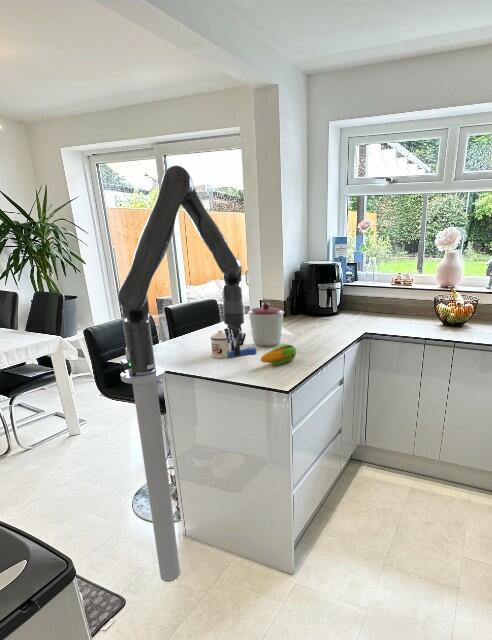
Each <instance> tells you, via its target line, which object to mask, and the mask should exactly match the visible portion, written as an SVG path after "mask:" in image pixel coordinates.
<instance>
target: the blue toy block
mask: <svg viewBox="0 0 492 640" xmlns="http://www.w3.org/2000/svg"><path fill="white" fill-rule="evenodd" d="M255 355H257V347H256V346H248V347H246V348H240V356H235V354H234V351H229V352H227V357H226V358H227V359H235V358H241V357H247V356H255Z"/></svg>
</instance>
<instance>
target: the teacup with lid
mask: <svg viewBox="0 0 492 640" xmlns="http://www.w3.org/2000/svg"><path fill="white" fill-rule="evenodd" d="M210 344H211V356H212V357H213V358H217V359H224V358H227V352H229V351H231V345H230V343H228V341H227V337H226V334H225V331H223V330H222V329H219V330H218V331H217V332H215V333H214V334H212V335H210Z"/></svg>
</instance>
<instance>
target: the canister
mask: <svg viewBox="0 0 492 640" xmlns="http://www.w3.org/2000/svg"><path fill="white" fill-rule="evenodd" d="M247 314H248V315H249V316H248V317H249V323H250V329H251V330H250V331H251V335H252V341H253V343H254V344H255V345H256V346H259V347H275V346H278V345H279V344H280V342H281V337H282V330H283V319H284V314H285V311H284V310H282V309H281V308H279V307H273V306H271V305H270V303H269V302H267V301H266V302H265V301H264V302H263V303H262V307H261V306H260V307H254V308H252V309H250V310H249V311H247Z"/></svg>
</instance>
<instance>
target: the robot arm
mask: <svg viewBox="0 0 492 640" xmlns="http://www.w3.org/2000/svg"><path fill="white" fill-rule="evenodd" d="M180 207H182V208H183V209H184V211H185V212H186V214H187V215H188V217H189V218H190V220H191V221H192V224H193V226H194V227H195V229H196V231H197V233H198V235H199V237H201V239H202V241H203V243H204V244H205V246H206V248H207V249H208V250H209V251H210V253H211V254H212V258H214V261H215V263H216V265H217V266H218V268H219V270H220V271H221V272H222V277H223V285H222V301H223V302H222V310H223V323H224V325H226V326H227V328H224V331H223V332H224V333H225V334H226V337H227V341H228V343H230V345H231V351H234V354H235V356H240V349H241V347H242V346H244V343H245V340H246V336H247V335H246V333H245V332H243V328H242V324H245V312H244V303H243V302H244V301H243V290H242V262H241V260H240V259H239V258H238V257H237V256H235V254H234V253H233V252H232V250H231V248H230V247H229V244H228V241H227V240H226V238H225V236H224V234H223V233H222V230H220V228H219V226H218V224H216V222H215V220H214V219H213V217H211V215H210V214H209V212H208V211H207V209H206V208H205V206H204V205H203V203H202V201H201V199H200V197H199V195H198V193H197V190H196V188H195V185H194V182H193V179H192V177H191V175H190V173H189V172H188V171H187V169H186V168H184V167H183V166H180V165H172V166H170V167H168V168H167V169H166V170H165V171H164V173H163V176H162V179H161V183H160V187H159V190H158V194H157V198H156V200H155V204H154V205H153V207H152V210H151V212H150V214H149V216H148V218H147V221H146V222H145V225H144V228H143V230H142V232H141V234H140V237H139V240H138V243H137V246H136V249H135V252H134V255H133V260H132V263H131V267H130V269H129V271H128V274H127V275H126V278H125V280H124V282H123V283H122V285H121V286H120V288H119V290H118V292H117V300H118V303H119V305H120V306H121V311H122V327H123V334H124V341H125V346H126V348H124V352H125V357H126V359H121V360H120V366H119V371H120V372H121V373H122V372H123V373H126V371H125V370H128V372H129V373H130V374H131V375H132V376H143V375H149V374H152V373H155V372H156V368H155V366H156V361H155V354H154V344H153V337H152V329H151V314H150V307H149V298H148V291H149V288H150V284H151V281H152V279H153V277H154V275H155V273H156V272H157V270H158V269H159V267H160V265H161V263H162V262H163V259H164V258H165V256H166V253H167V252H168V248H169V246H170V243H171V242H172V241H171V240H172V237H173V233H174V230H175V229H174V228H175V223H176V218H177V215H178V212H179V209H180Z"/></svg>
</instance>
